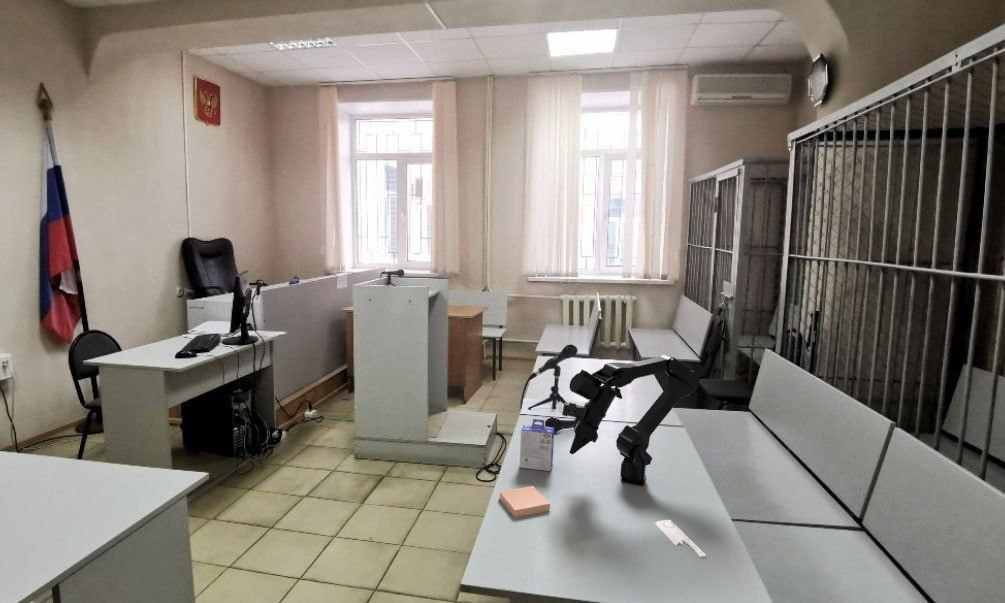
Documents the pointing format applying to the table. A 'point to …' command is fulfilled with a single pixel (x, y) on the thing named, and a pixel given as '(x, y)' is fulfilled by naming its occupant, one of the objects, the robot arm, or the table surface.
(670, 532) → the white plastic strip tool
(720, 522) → the table surface
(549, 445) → the ink cartridge box
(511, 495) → the tile
